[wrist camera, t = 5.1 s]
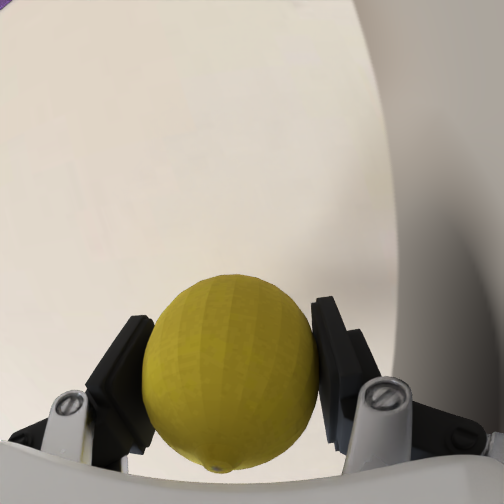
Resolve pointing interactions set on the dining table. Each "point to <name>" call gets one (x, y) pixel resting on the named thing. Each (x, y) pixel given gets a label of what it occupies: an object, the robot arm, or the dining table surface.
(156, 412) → the lemon
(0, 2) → the cloth
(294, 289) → the dining table surface
